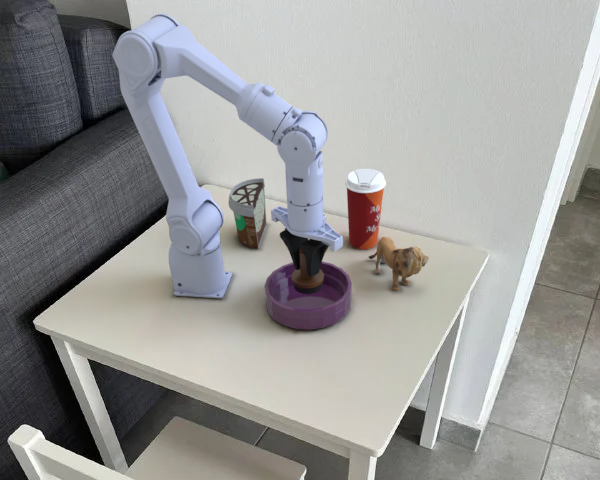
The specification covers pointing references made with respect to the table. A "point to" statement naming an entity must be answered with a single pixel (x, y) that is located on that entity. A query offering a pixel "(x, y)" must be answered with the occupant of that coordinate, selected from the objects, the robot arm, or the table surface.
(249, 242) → the food container
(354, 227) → the paper cup
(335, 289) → the bowl
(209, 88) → the robot arm
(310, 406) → the table surface
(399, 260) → the lion figurine
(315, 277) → the brown stamp
